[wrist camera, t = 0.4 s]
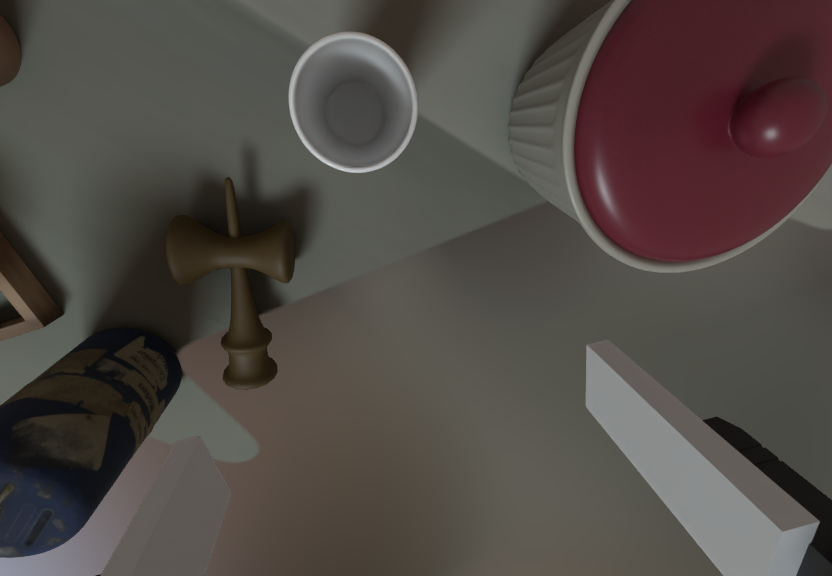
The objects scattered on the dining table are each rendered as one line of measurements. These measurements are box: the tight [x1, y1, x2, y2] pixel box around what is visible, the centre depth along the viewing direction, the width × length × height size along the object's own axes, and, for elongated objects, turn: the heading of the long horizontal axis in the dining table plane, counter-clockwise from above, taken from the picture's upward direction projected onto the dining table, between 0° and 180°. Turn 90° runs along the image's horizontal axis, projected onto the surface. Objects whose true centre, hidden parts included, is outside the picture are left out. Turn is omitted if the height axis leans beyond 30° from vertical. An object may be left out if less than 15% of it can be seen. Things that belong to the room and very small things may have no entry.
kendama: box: [165, 177, 295, 390], centre depth 35 cm, size 6×10×20 cm
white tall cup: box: [289, 31, 418, 173], centre depth 27 cm, size 7×7×15 cm
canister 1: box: [0, 328, 182, 558], centre depth 31 cm, size 10×10×18 cm
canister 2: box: [508, 0, 832, 273], centre depth 27 cm, size 18×18×21 cm
